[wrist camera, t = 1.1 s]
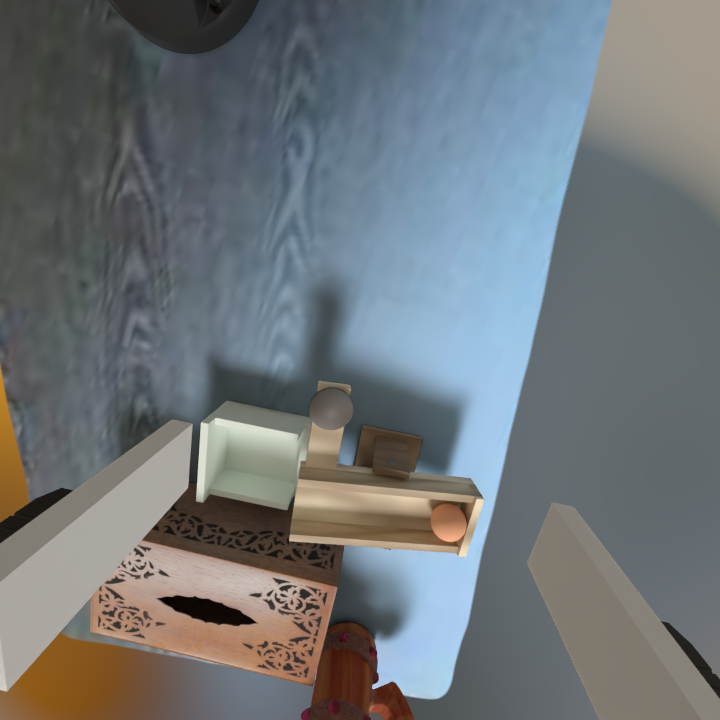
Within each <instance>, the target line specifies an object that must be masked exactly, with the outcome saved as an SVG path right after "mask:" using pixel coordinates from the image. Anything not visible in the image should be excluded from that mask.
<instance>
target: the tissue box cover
mask: <svg viewBox="0 0 720 720" xmlns="http://www.w3.org/2000/svg"><path fill="white" fill-rule="evenodd" d="M196 493H197V484H195V483H191V482H189V483H188V489H187V490H186V491H185V492H184V493H183V494H182V495H181V496H180V498H179V499H178V500H177V501H176V502H175V503H174V504H173V505H172V507H171V508H170V509H169V510H168V511H167V512H166V513H165V514H164V516H163V517H162V518H161V519H160V520H159V521H158V522H157V523H156V525H155V526H154V527H153V528H152V529H151V530H150V531H149V532H148V534H147V535H146V536H145V537H144V538H143V539H142V540H141V541H140V543H139V544H138V545H137V546H136V547H135V548H134V549H133V550H132V552H131V553H130V554H129V555H128V556H127V557H126V558H125V559H124V561H123V562H122V563H121V564H120V565H119V566H118V567H117V568H116V570H115V571H114V572H113V573H112V574H111V575H110V576H109V577H108V579H107V580H106V581H105V582H104V583H103V584H102V585H101V586H100V588H99V589H98V590H97V591H96V592H95V593H94V594H93V595H92V597H91V632H93V633H97V634H101V635H105V636H109V637H114V638H118V639H122V640H126V641H130V642H134V643H138V644H142V645H146V646H150V647H154V648H158V649H162V650H167V651H171V652H175V653H179V654H183V655H187V656H191V657H195V658H199V659H203V660H207V661H211V662H215V663H220V664H224V665H228V666H232V667H236V668H240V669H245V670H248V671H253V672H257V673H260V674H264V675H268V676H273V677H277V678H281V679H285V680H289V681H293V682H297V683H301V684H305V685H309V686H313V684H314V680H315V676H316V672H317V668H318V664H319V660H320V656H321V652H322V648H323V644H324V640H325V636H326V632H327V628H328V624H329V620H330V616H331V612H332V608H333V604H334V600H335V596H336V592H337V588H338V583H339V576H340V570H341V563H342V557H343V550H344V545H336V544H322V543H308V542H294V541H289V537H290V529H291V521H292V514H293V508H294V507H292V506H289V507H288V510H283V509H278V508H274V507H269V506H264V505H259V504H254V503H250V502H245V501H240V500H235V499H231V498H226V497H221V496H216V495H212V494H210V495H209V496H208V497H207V498H206V500H205V501H204V502H203V503H202V502H197V501H196Z"/></svg>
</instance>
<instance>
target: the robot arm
mask: <svg viewBox="0 0 720 720" xmlns="http://www.w3.org/2000/svg"><path fill="white" fill-rule="evenodd" d="M108 1H109V2H110V3H111V5H112V6H113V7H114V8H115V9H116V11H117V12H118V13H119V14H120V15H121V16H122V17H123V18H124V19H125V20H126V21H127V22H128V23H130V24H131V25H132V26H133V27H134V28H135V29H136V30H137V31H138V32H139V33H140V34H141V35H143V36H144V37H145V38H146V39H148V40H149V41H151V42H152V43H154V44H156V45H158V46H160V47H162V48H164V49H167V50H170V51H173V52H177V53H184V54H196V53H203V52H207V51H210V50H213V49H215V48H217V47H219V46H221V45H223V44H225V43H226V42H228V41H229V40H230V39H232V38H233V37H234V36H235V35H236V34H237V33H238V32H239V31H240V30H241V29H242V28H243V27H244V25H245V24H246V23H247V21H248V20H249V18H250V17H251V15H252V13H253V11H254V9H255V7H256V5H257V3H258V1H259V0H108ZM192 426H193V424H192V423H188V422H183V421H179V420H174V419H172V420H170V421H169V422H167V423H166V424H165V425H163V426H162V427H161V428H159V429H158V430H156V431H155V432H154V433H152V434H151V435H149V436H148V437H147V438H145V439H144V440H143V441H141V442H140V443H138V444H137V445H136V446H134V447H133V448H132V449H130V450H129V451H127V452H126V453H125V454H123V455H122V456H120V457H119V458H118V459H116V460H115V461H114V462H112V463H111V464H109V465H108V466H107V467H105V468H104V469H103V470H101V471H100V472H98V473H97V474H96V475H94V476H93V477H91V478H90V479H89V480H87V481H86V482H85V483H83V484H82V485H80V486H79V487H78V488H76V489H75V490H74V491H73V490H68V489H64V488H60V489H58V490H56V491H53V492H51V493H48V494H46V495H44V496H41V497H39V498H36V499H35V500H33V501H32V502H30V503H29V504H27V505H26V506H25V507H23V508H22V509H20V510H19V511H17V512H16V513H15V514H14V516H10V517H8V518H7V519H5V520H4V521H2V522H1V523H0V690H3V691H8V690H9V689H10V688H11V687H12V685H13V684H14V683H15V682H16V681H17V680H18V679H19V677H20V676H21V675H22V674H23V673H24V672H25V671H26V670H27V669H28V667H29V666H30V665H31V664H32V663H33V662H34V661H35V659H36V658H37V657H38V656H39V655H40V654H41V653H42V652H43V651H44V649H45V648H46V647H47V646H48V645H49V644H50V643H51V642H52V640H53V639H54V638H55V637H56V636H57V635H58V633H60V631H61V630H62V629H63V628H64V627H65V626H66V625H67V624H68V622H69V621H70V620H71V619H72V618H73V617H74V616H75V615H76V613H77V612H78V611H79V610H80V609H81V608H82V607H83V606H84V604H85V603H86V602H87V601H88V600H89V599H90V598H91V597H92V595H93V594H94V593H95V592H96V591H97V590H98V589H99V588H100V586H101V585H102V584H103V583H104V582H105V581H106V580H107V579H108V577H109V576H110V575H111V574H112V573H113V572H114V571H115V570H116V568H117V567H118V566H119V565H120V564H121V563H122V562H123V561H124V559H125V558H126V557H127V556H128V555H129V554H130V553H131V552H132V550H133V549H134V548H135V547H136V546H137V545H138V544H139V543H140V541H141V540H142V539H143V538H144V537H145V536H146V535H147V534H148V532H149V531H150V530H151V529H152V528H153V527H154V526H155V525H156V523H157V522H158V521H159V520H160V519H161V518H162V517H163V516H164V514H165V513H166V512H167V511H168V510H169V509H170V508H171V507H172V505H173V504H174V503H175V502H176V501H177V500H178V499H179V498H180V496H181V495H182V494H183V493H184V492H185V491H186V490H187V489H188V483H189V469H190V454H191V440H192ZM527 565H528V567H529V569H530V571H531V573H532V575H533V578H534V580H535V582H536V584H537V586H538V588H539V591H540V593H541V595H542V597H543V599H544V601H545V604H546V606H547V608H548V610H549V612H550V614H551V616H552V619H553V621H554V623H555V625H556V627H557V629H558V632H559V634H560V636H561V638H562V640H563V643H564V645H565V647H566V649H567V651H568V653H569V655H570V658H571V660H572V662H573V664H574V666H575V668H576V671H577V673H578V675H579V677H580V679H581V681H582V683H583V686H584V688H585V690H586V692H587V694H588V696H589V699H590V701H591V703H592V705H593V707H594V709H595V712H596V714H597V716H598V718H599V720H720V679H719V678H718V677H717V675H716V674H713V673H712V671H711V670H712V669H711V668H710V667H709V665H708V664H707V663H706V662H705V660H704V659H703V658H702V657H701V655H700V654H699V653H698V651H697V650H696V649H695V648H694V647H693V645H692V644H691V643H690V642H689V641H687V640H686V639H685V638H684V637H683V636H682V635H681V634H680V633H679V632H678V631H676V629H674V628H673V627H672V626H671V625H670V624H669V623H667V622H662V621H660V620H659V618H658V617H657V616H656V614H655V613H654V612H653V610H652V609H651V608H650V607H649V605H648V604H647V603H646V601H645V600H644V599H643V597H642V596H641V595H640V593H639V592H638V591H637V589H636V588H635V587H634V586H633V584H632V583H631V582H630V580H629V579H628V578H627V576H626V575H625V574H624V572H623V571H622V570H621V568H619V566H618V564H617V563H616V562H615V561H614V559H613V558H612V557H611V556H610V554H609V553H608V551H607V550H606V549H605V548H604V546H603V545H602V543H601V542H600V541H599V540H598V538H597V537H596V536H595V534H594V533H593V532H592V530H591V529H590V528H589V526H588V525H587V524H586V523H585V521H584V520H583V519H582V517H581V516H580V515H579V513H578V512H577V511H576V509H575V508H574V507H571V506H567V505H562V504H558V503H553V502H552V504H551V507H550V509H549V511H548V514H547V516H546V519H545V521H544V523H543V526H542V528H541V531H540V533H539V535H538V538H537V540H536V543H535V545H534V547H533V550H532V552H531V555H530V557H529V559H528V562H527Z"/></svg>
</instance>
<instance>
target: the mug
mask: <svg viewBox="0 0 720 720" xmlns="http://www.w3.org/2000/svg"><path fill="white" fill-rule="evenodd" d="M377 664H378V660H377V651H376V645H375V642H374V640H373V638H372V636H371V634H370V633H369V632H367V630H365V629H364V628H363V627H362V626H360V625H359V624H356V623H353V622H346V623H339V624H336V625H333V626H331V627H330V628H328V629H327V632H326V636H325V640H324V644H323V648H322V652H321V656H320V660H319V664H318V668H317V674H316V680H315V686H314V692H313V697H312V703H311V707H310V708H308V709H306V710H305V711H303V712H302V714H301V719H302V720H371V718H370V717H369V712H371V713H379V714H380V715H381V716H382V717H383V719H384V720H414V717H413V715H412V712H411V710H410V708H409V705H408V703H407V701H406V699H405V697H404V695H403V694H402V692H401V690H400V689H399V687H398V686H397V685H396V683H394V682H390V683H388V684H386V685H383V686H381V687H379V688H376V689H374V690H373V689H372V685H373V684H375V683H377V682H378V680H379V675H378V673H377Z"/></svg>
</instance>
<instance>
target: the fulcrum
mask: <svg viewBox="0 0 720 720" xmlns="http://www.w3.org/2000/svg"><path fill="white" fill-rule="evenodd" d="M421 444H422V437H421V436H416V435H411V434H406V433H401V432H396V431H391V430H386V429H381V428H376V427H371V426H366V425H363V426H362V431H361V436H360V441H359V446H358V451H357V456H356V461H355V466H358V467H368V468H373V471H372V472H375V473H380V474H385V475H390V476H395V477H400V478H404V479H409V476H410V472H414V471H415V467H416V464H417V460H418V456H419V452H420V448H421ZM384 549H389V550H391V548H384Z"/></svg>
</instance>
